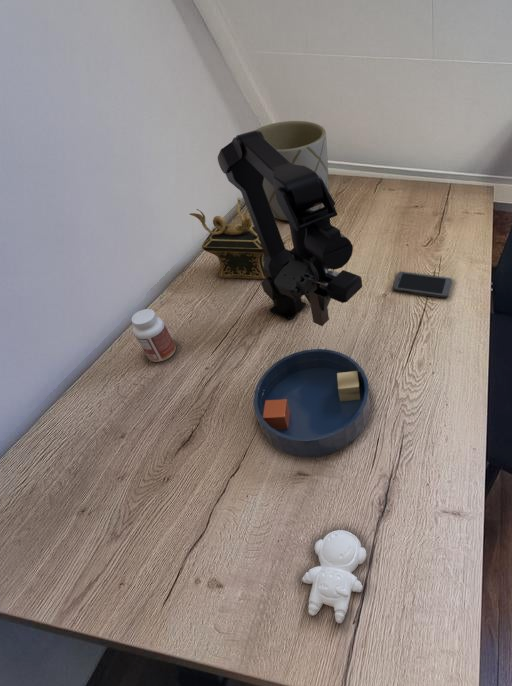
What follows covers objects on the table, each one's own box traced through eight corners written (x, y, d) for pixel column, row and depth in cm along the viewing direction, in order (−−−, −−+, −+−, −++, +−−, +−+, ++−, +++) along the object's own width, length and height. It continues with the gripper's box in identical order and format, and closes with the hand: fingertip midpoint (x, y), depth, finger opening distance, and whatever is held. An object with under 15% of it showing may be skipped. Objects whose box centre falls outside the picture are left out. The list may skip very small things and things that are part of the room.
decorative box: (281, 260, 126) (267, 194, 112) (272, 281, 119) (256, 214, 105) (213, 257, 128) (191, 193, 115) (200, 278, 121) (175, 212, 108)
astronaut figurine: (291, 609, 63) (288, 602, 61) (323, 526, 71) (321, 517, 69) (351, 630, 61) (349, 624, 59) (376, 542, 69) (375, 534, 67)
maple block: (338, 385, 91) (337, 372, 89) (358, 383, 92) (357, 370, 89) (340, 401, 88) (338, 389, 86) (360, 399, 89) (359, 386, 86)
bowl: (236, 423, 87) (229, 406, 83) (306, 353, 99) (303, 335, 96) (325, 479, 77) (321, 462, 74) (390, 393, 90) (390, 375, 86)
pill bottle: (175, 339, 104) (158, 303, 97) (177, 358, 100) (159, 321, 92) (147, 347, 103) (127, 310, 95) (147, 366, 99) (126, 329, 91)
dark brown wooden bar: (313, 322, 94) (306, 280, 87) (320, 315, 96) (314, 274, 88) (322, 326, 93) (316, 284, 86) (329, 319, 95) (324, 278, 87)
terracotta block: (269, 412, 87) (265, 400, 85) (290, 411, 87) (286, 398, 85) (266, 430, 84) (262, 418, 82) (288, 429, 84) (284, 416, 82)
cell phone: (447, 298, 110) (448, 296, 110) (392, 290, 113) (392, 288, 113) (452, 280, 115) (452, 278, 115) (398, 273, 119) (398, 271, 118)
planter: (304, 233, 136) (292, 156, 120) (248, 215, 145) (230, 142, 129) (347, 200, 149) (341, 127, 133) (293, 185, 159) (281, 116, 143)
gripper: (239, 250, 81) (258, 315, 91) (322, 282, 73) (332, 349, 83) (281, 221, 87) (293, 285, 98) (361, 248, 79) (365, 314, 90)
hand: (319, 307), depth 92 cm, fingers closed on dark brown wooden bar, 2 cm apart
